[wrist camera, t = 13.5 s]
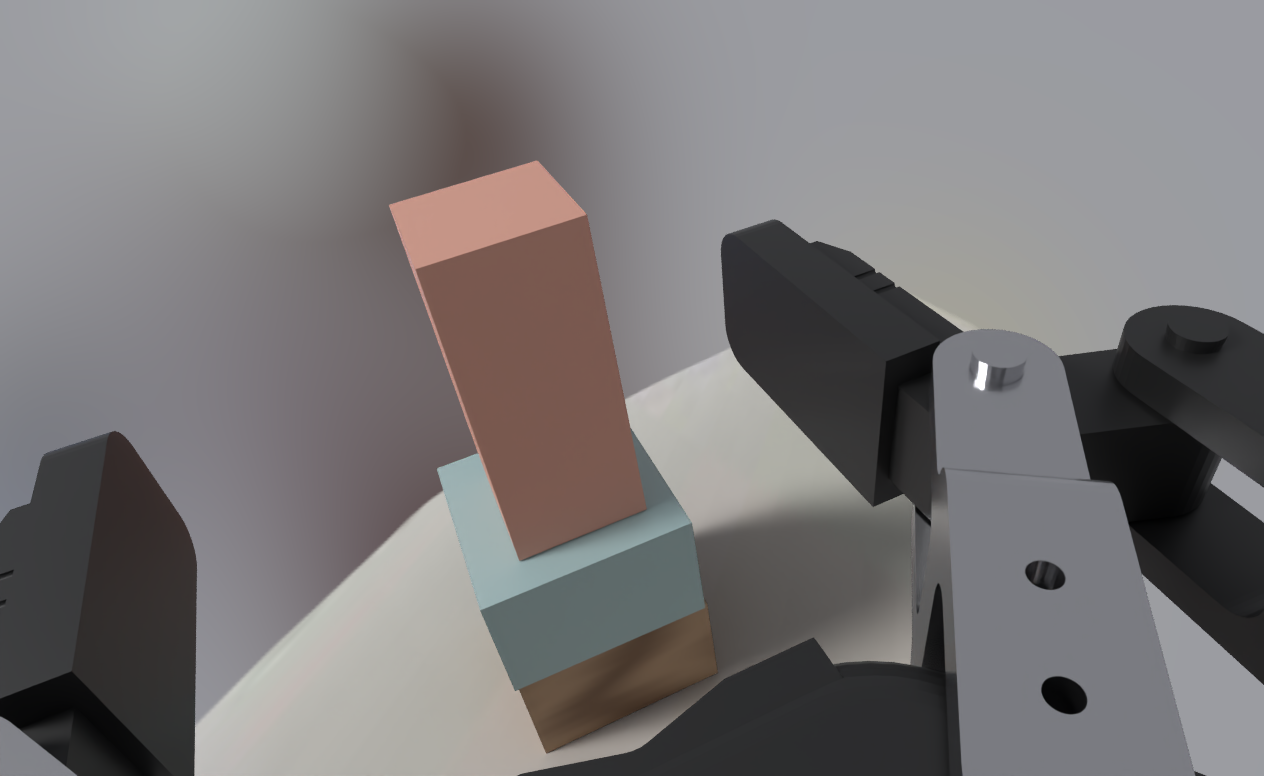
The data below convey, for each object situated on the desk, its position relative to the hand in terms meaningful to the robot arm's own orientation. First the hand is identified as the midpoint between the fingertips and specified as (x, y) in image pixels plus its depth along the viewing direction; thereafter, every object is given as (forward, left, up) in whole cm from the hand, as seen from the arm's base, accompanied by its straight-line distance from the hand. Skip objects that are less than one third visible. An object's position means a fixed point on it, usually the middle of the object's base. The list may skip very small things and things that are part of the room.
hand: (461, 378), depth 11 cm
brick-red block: (+3, +14, -16) cm, 21 cm away
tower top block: (+2, +14, -21) cm, 25 cm away
